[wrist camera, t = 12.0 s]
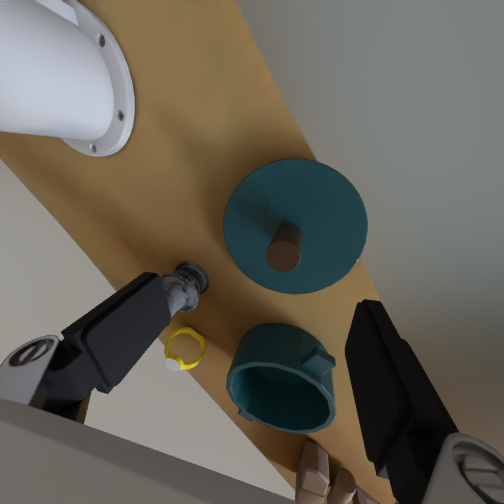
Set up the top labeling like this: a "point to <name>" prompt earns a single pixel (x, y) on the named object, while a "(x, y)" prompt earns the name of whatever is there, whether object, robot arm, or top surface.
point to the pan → (283, 379)
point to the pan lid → (295, 226)
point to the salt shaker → (184, 287)
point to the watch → (173, 360)
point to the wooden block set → (325, 480)
